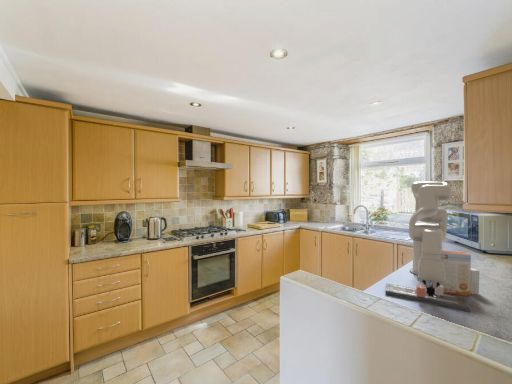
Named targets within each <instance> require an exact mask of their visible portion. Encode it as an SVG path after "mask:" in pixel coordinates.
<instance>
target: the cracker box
mask: <svg viewBox="0 0 512 384" xmlns="http://www.w3.org/2000/svg"><path fill="white" fill-rule="evenodd" d="M442 255H445V256H446V258H443V259H442V260H443V262H444V268H445V285H442V286H443V287H444V289H443V294H448V295H454V296H462V297H463V296H465V297H471V294H470V283H471V268H472V266H471V262H472V261H471V260H472V257H471V256H472V255H471V254H469V253H468V252H464V251H453V250H442Z"/></svg>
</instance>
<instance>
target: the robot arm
mask: <svg viewBox="0 0 512 384" xmlns="http://www.w3.org/2000/svg"><path fill="white" fill-rule="evenodd" d="M411 192H412V194H413V197H414V199H415V207H414V208H415V209H414V210H415V212H414V213H413V214H412V215H411V217H410V219H409V222H408V235H409V238H410V240H411V241H412V267H411V268H410V269H409V272H410V273H412V274H413V275H417V278H416V281H417V282H420V283H422V284H423V285H424V286H425V290H426V293H427V294H428V295H429V296H432V297H433V295H435V288H436V287H438V286H439V285H445V268H444V262H443V260H442V259H443V258H446V256H445V255H442V251H443V241H444V240H446V238H447V232H448V231H447V230H448V212H447V210H446V209H445V208H443V207H440V206H439V201H441V202H443V201H445V202H446V201H450V200H452V196H453V191H452V187H451V186H450V184H449V183H448V182H446V181H414V182H413V183H412V184H411ZM417 222H418V223H417ZM430 282H431V285H430Z"/></svg>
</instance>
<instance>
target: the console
mask: <svg viewBox="0 0 512 384" xmlns="http://www.w3.org/2000/svg"><path fill="white" fill-rule="evenodd" d="M386 294H388V295H387V296H391V295H392V296H391V297H395V298H399V299H404V300H405V299H407V300H411V301H415V302H421V303H425V304H430V305H435V306H440V307H445V308H449V309H455V310H460V311H464V312H469V313H470V312H471V307H470V304H469V303H468V302H467V300H466V299H465V297H463V296H460V295H454V294H446V293H443V296H441V295H436V294H435V295H433V297H432V296H429V295H428V294H427V293H426V289H425V298H424V297H419V296H417V294H416V287H415V288H414V287H408V286H404V285H398V284H392V283H386V284H385V295H386Z"/></svg>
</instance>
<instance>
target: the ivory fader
mask: <svg viewBox="0 0 512 384" xmlns="http://www.w3.org/2000/svg"><path fill="white" fill-rule="evenodd" d="M443 289H444V287H443V286H442V285H439V286H438V287H436V288H435V294H436V295H441V296H443V294H444V293H443Z"/></svg>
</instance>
